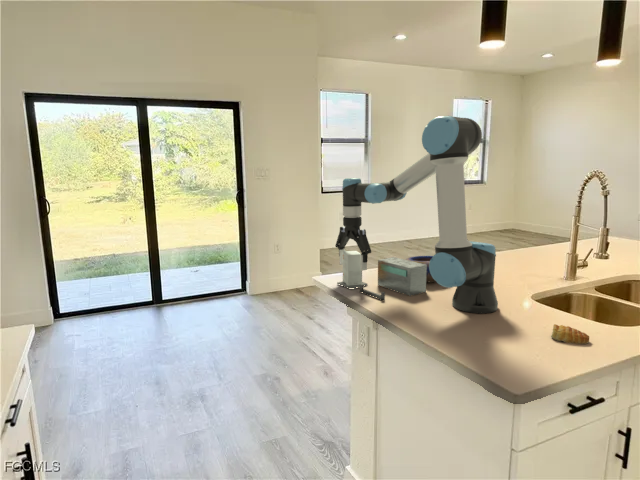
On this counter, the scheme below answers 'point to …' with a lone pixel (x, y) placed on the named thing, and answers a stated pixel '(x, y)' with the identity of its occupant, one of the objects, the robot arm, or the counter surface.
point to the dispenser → (400, 277)
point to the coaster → (350, 286)
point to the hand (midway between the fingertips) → (352, 267)
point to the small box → (352, 268)
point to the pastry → (569, 335)
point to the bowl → (423, 261)
